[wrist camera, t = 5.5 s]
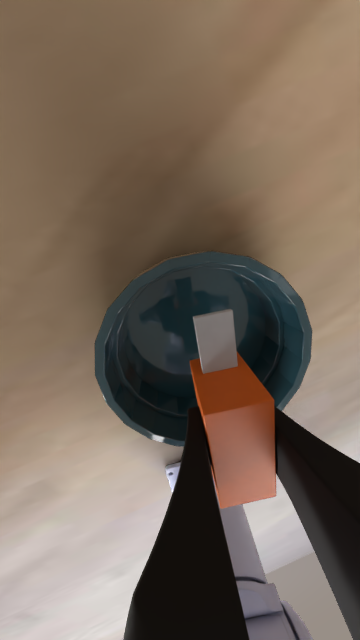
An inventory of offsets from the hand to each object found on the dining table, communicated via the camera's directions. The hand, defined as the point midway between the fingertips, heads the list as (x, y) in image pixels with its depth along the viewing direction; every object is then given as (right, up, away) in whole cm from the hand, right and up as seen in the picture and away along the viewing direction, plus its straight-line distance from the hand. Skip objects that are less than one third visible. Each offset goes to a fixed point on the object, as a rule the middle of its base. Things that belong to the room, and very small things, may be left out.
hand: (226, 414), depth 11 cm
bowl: (-1, +4, +7) cm, 8 cm away
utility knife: (0, +2, +1) cm, 2 cm away
